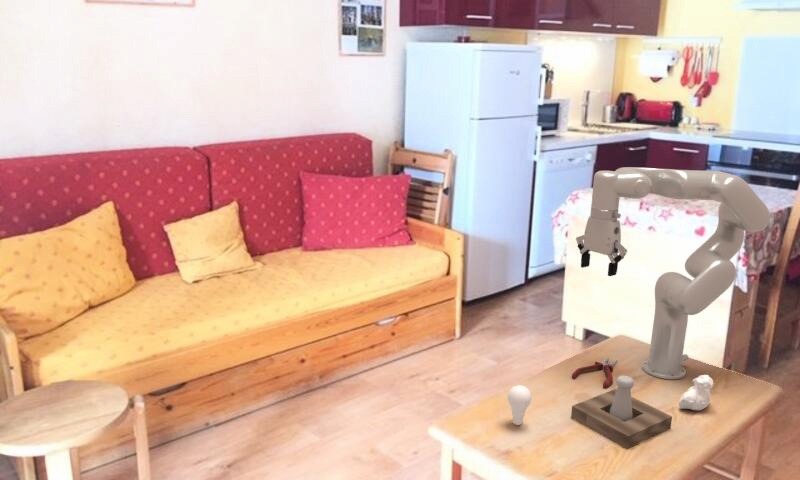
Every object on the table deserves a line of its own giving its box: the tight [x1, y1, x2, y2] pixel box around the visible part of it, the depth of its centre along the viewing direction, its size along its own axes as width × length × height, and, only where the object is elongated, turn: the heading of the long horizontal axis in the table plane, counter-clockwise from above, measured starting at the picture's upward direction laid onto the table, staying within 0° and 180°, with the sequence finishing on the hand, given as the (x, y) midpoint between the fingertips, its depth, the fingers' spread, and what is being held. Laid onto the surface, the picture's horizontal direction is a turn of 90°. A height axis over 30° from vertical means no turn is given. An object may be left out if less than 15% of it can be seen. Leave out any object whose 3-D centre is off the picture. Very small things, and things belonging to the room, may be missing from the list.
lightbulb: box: [507, 384, 533, 426], centre depth 177 cm, size 6×6×11 cm
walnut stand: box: [570, 388, 673, 450], centre depth 180 cm, size 18×18×4 cm
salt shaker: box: [609, 375, 635, 422], centre depth 179 cm, size 6×6×13 cm
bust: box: [678, 374, 714, 412], centre depth 188 cm, size 12×8×11 cm
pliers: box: [571, 357, 618, 390], centre depth 210 cm, size 12×20×3 cm, turn 143°
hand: (598, 271), depth 200 cm, fingers open, 9 cm apart
